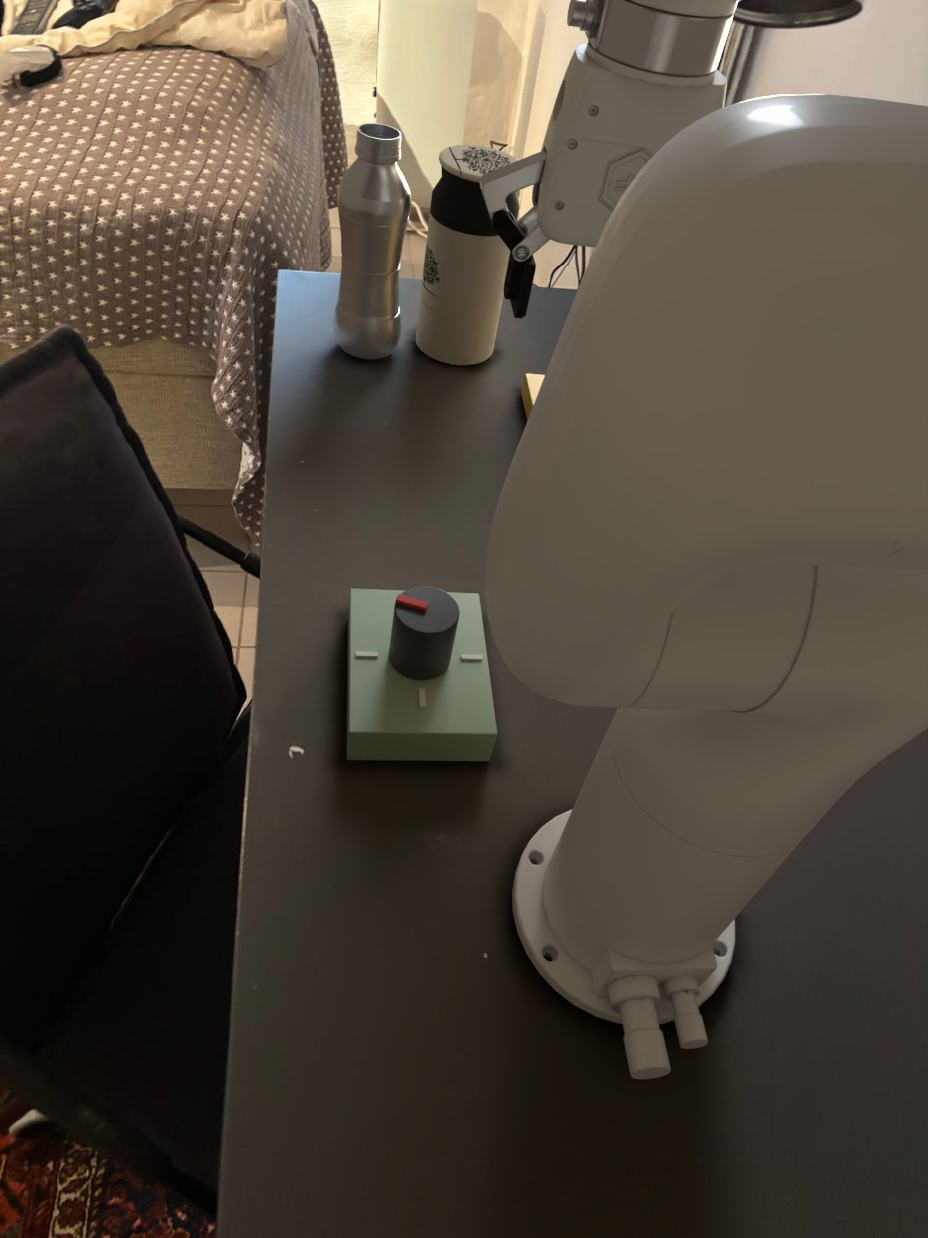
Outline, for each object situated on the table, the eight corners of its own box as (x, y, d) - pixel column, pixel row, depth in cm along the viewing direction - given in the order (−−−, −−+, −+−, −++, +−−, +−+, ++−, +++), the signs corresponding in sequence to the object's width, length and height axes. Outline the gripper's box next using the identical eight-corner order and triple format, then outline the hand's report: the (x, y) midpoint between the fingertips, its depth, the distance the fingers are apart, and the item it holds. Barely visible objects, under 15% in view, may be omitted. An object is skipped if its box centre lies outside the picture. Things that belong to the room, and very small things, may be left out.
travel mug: (489, 330, 92) (521, 149, 79) (495, 371, 87) (531, 184, 74) (414, 322, 91) (434, 137, 78) (416, 364, 86) (438, 172, 73)
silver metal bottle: (374, 375, 83) (391, 153, 69) (317, 348, 85) (322, 126, 71) (412, 350, 88) (435, 135, 73) (357, 325, 89) (369, 110, 75)
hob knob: (457, 643, 58) (467, 592, 54) (440, 688, 55) (450, 637, 52) (399, 626, 58) (406, 574, 55) (380, 670, 55) (386, 618, 52)
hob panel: (489, 761, 55) (498, 732, 53) (346, 760, 54) (348, 730, 52) (472, 621, 63) (479, 591, 61) (347, 617, 62) (349, 586, 60)
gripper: (516, 35, 45) (467, 333, 58) (822, 77, 48) (712, 352, 61) (498, -7, 50) (457, 276, 63) (777, 34, 53) (684, 297, 66)
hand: (583, 313), depth 62 cm, fingers open, 9 cm apart
